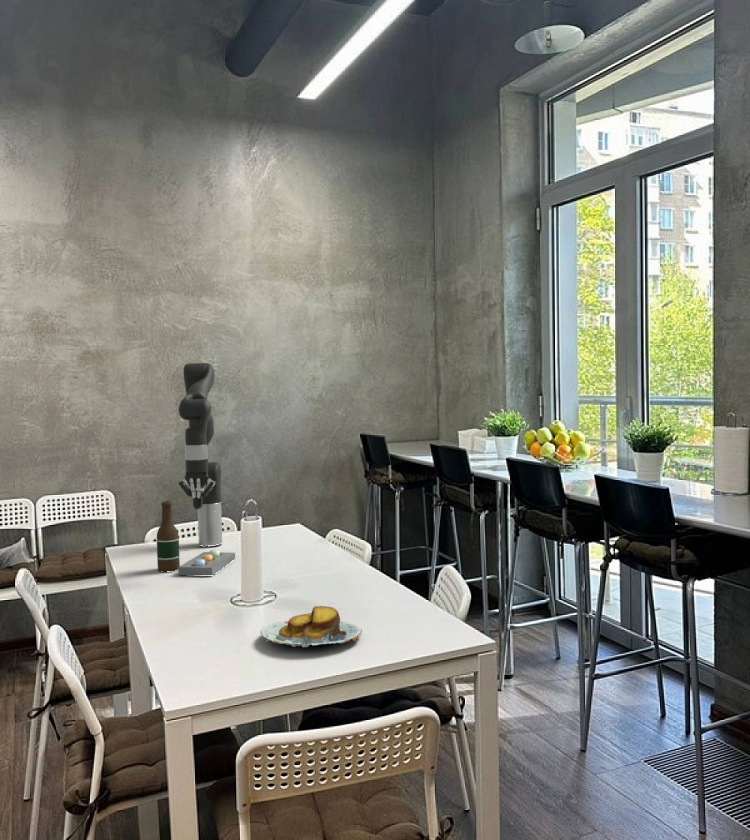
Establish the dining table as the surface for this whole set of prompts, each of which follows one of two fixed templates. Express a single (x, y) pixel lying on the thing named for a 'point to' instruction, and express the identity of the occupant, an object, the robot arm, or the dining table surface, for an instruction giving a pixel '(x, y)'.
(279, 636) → the food on plate
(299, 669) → the dining table surface
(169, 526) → the beer bottle
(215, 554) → the sage button
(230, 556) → the button panel
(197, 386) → the robot arm
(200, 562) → the blue button
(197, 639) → the dining table surface
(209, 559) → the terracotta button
